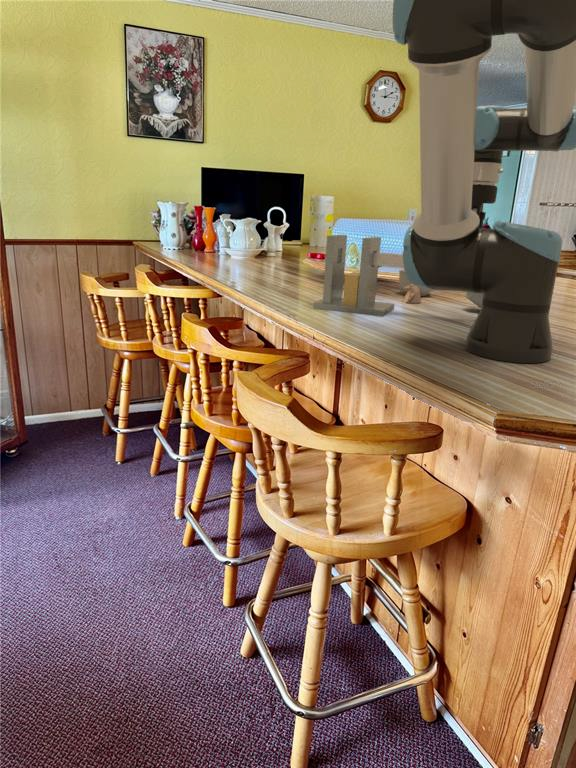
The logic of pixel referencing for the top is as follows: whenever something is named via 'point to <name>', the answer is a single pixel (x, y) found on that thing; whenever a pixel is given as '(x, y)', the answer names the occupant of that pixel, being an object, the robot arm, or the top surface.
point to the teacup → (405, 282)
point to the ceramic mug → (475, 298)
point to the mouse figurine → (412, 295)
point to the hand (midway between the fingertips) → (464, 289)
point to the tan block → (351, 289)
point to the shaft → (387, 260)
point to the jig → (366, 279)
